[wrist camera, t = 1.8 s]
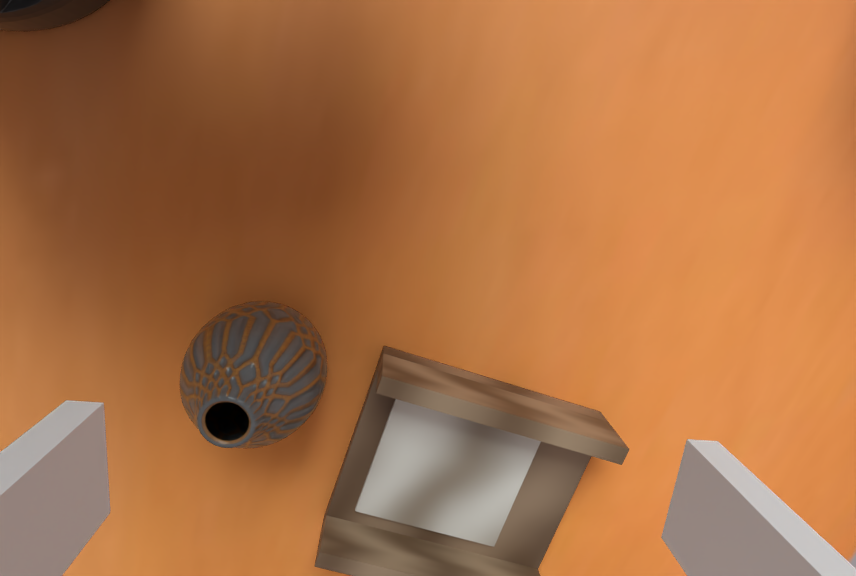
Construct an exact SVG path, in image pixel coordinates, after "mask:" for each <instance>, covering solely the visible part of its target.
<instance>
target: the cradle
mask: <svg viewBox="0 0 856 576" xmlns="http://www.w3.org/2000/svg"><path fill="white" fill-rule="evenodd" d="M628 451H629V448H628V447H627V446H626V444H625V443H624V442H623V440H622V439H621V438H620V437H619V435H618V434H617V433H616V431H615V430H614V429H613V428H612V426H611V425H610V424H609V422H608V421H607V420H606V419H605V417H604V416H603V415H602V413H601V412H599V411H596V410H593V409H590V408H586V407H583V406H580V405H577V404H573V403H570V402H567V401H563V400H560V399H557V398H554V397H550V396H547V395H544V394H540V393H537V392H534V391H531V390H527V389H524V388H521V387H518V386H514V385H511V384H508V383H504V382H501V381H498V380H495V379H491V378H488V377H485V376H482V375H478V374H475V373H472V372H468V371H465V370H462V369H459V368H455V367H452V366H449V365H446V364H442V363H439V362H436V361H432V360H429V359H426V358H423V357H419V356H416V355H413V354H410V353H406V352H403V351H400V350H396V349H393V348H390V347H387V346H384V347H383V350H382V353H381V355H380V358H379V361H378V364H377V367H376V370H375V373H374V375H373V378H372V381H371V384H370V387H369V390H368V393H367V395H366V398H365V401H364V404H363V407H362V410H361V412H360V415H359V418H358V421H357V424H356V427H355V430H354V432H353V435H352V438H351V441H350V444H349V447H348V450H347V452H346V455H345V458H344V461H343V464H342V467H341V469H340V472H339V475H338V478H337V481H336V484H335V487H334V489H333V492H332V495H331V498H330V501H329V504H328V506H327V509H326V512H325V515H324V520H323V525H322V530H321V535H320V541H319V546H318V551H317V556H316V562H315V567H319V568H323V569H327V570H331V571H335V572H339V573H344V574H348V575H352V576H540V574H539V571H538V568H539V566H540V563H541V561H542V559H543V557H544V555H545V553H546V551H547V549H548V547H549V544H550V542H551V540H552V538H553V536H554V534H555V532H556V530H557V528H558V526H559V523H560V521H561V519H562V517H563V515H564V513H565V511H566V509H567V507H568V504H569V502H570V500H571V498H572V496H573V494H574V492H575V490H576V488H577V485H578V483H579V481H580V479H581V477H582V475H583V473H584V471H585V469H586V466H587V464H588V462H589V460H590V458H591V456H593V457H596V458H600V459H603V460H607V461H610V462H614V463H617V464H620V465H622V463H623V461H624V459H625V457H626V455H627V453H628Z"/></svg>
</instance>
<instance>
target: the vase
mask: <svg viewBox="0 0 856 576" xmlns="http://www.w3.org/2000/svg"><path fill="white" fill-rule="evenodd" d="M326 377H327V356H326V351H325V347H324V344H323V342H322V339H321V337H320V335H319V333H318V332H317V330H316V329H315V327H314V326H313V325H312V324H311V323H310V321H309V320H308V319H307V318H305V317H304V316H303V315H302V314H300V313H299V312H297V311H296V310H294V309H292V308H290V307H287V306H285V305H282V304H278V303H273V302H249V303H244V304H240V305H237V306H234V307H231V308H229V309H227V310H225V311H223V312H222V313H220V314H219V315H217V316H216V317H214V318H213V319H212V320H210V321H209V322H208V323H207V324H206V325H205V326H204V327H203V328H202V329H201V330H200V331H199V332H198V333H197V334H196V336H195V337H194V339H193V340H192V342H191V344H190V345H189V347H188V349H187V351H186V354H185V357H184V360H183V363H182V367H181V373H180V394H181V399H182V403H183V406H184V408H185V410H186V412H187V414H188V416H189V418H190V419H191V421H192V422H193V423H194V425H195V426H196V427H197V428H198V429H199V431H200V432H201V434H202V435H203V437H204V438H205V439H206V440H207V441H209V442H210V443H212V444H214V445H216V446H219V447H224V448H233V447H236V448H257V447H263V446H267V445H270V444H273V443H275V442H278V441H280V440H282V439H284V438H285V437H287V436H289V435H290V434H292V433H293V432H294V431H296V430H297V429H298V428H299V427H300V426H301V425H302V424H303V423H304V422H305V421H306V420H307V419H308V418H309V417H310V415H311V414H312V413H313V411H314V410H315V408H316V407H317V405H318V403H319V401H320V399H321V396H322V394H323V391H324V387H325V383H326Z"/></svg>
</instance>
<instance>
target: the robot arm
mask: <svg viewBox="0 0 856 576" xmlns="http://www.w3.org/2000/svg"><path fill="white" fill-rule="evenodd" d="M108 1H109V0H0V30H7V31H35V30H43V29H50V28H54V27H58V26H62V25H65V24H68V23H71V22H74V21H76V20H78V19H81V18H83V17H85V16H87V15H88V14H90V13H92V12H94V11H95V10H97V9H98V8H100V7H101V6H103V5H104V4H105V3H107V2H108ZM109 514H110V498H109V481H108V464H107V447H106V430H105V413H104V403H101V402H85V401H69V400H66V401H65V402H63V403H62V404H61V405H60V406H58V407H57V408H56V409H55V410H53V411H52V412H51V413H49V414H48V415H47V416H46V417H44V418H43V419H42V420H41V421H39V422H38V423H37V424H36V425H34V426H33V427H32V428H30V429H29V430H28V431H27V432H25V433H24V434H23V435H22V436H20V437H19V438H18V439H16V440H15V441H14V442H13V443H11V444H10V445H9V446H8V447H6V448H5V449H4V450H3V451H1V452H0V576H62V575H63V574H64V572H65V571H66V570H67V569H68V567H69V566H70V565H71V563H72V562H73V561H74V559H75V558H76V557H77V555H78V554H79V553H80V552H81V550H82V549H83V548H84V546H85V545H86V544H87V542H88V541H89V540H90V538H91V537H92V536H93V535H94V533H95V532H96V531H97V529H98V528H99V527H100V525H101V524H102V523H103V521H104V520H105V519H106V518H107V516H108V515H109ZM661 538H662V539H663V541H664V542H665V544H666V545H667V546H668V548H669V549H670V551H671V552H672V554H673V555H674V557H675V558H676V560H677V561H678V563H679V564H680V566H681V567H682V569H683V570H684V572H685V573H686V575H687V576H856V568H855V567H853V566H852V565H851V564H850V563H849V562H848V561H847V560H846V559H845V558H844V557H843V556H842V555H841V554H839V553H838V552H837V551H836V550H835V549H834V548H833V547H832V546H831V545H830V544H829V543H828V542H826V541H825V540H824V539H823V538H822V537H821V536H820V535H819V534H818V533H817V532H816V531H815V530H813V529H812V528H811V527H810V526H809V525H808V524H807V523H806V522H805V521H804V520H803V519H801V518H800V517H799V516H798V515H797V514H796V513H795V512H794V511H793V510H792V509H791V508H790V507H788V506H787V505H786V504H785V503H784V502H783V501H782V500H781V499H780V498H779V497H778V496H777V495H775V494H774V493H773V492H772V491H771V490H770V489H769V488H768V487H767V486H766V485H765V484H764V483H762V482H761V481H760V480H759V479H758V478H757V477H756V476H755V475H754V474H753V473H752V472H751V471H749V470H748V469H747V468H746V467H745V466H744V465H743V464H742V463H741V462H740V461H739V460H738V459H736V458H735V457H734V456H733V455H732V454H731V453H730V452H729V451H728V450H727V449H726V448H725V447H723V446H722V445H721V444H720V443H719V442H718V441H707V440H691V439H687V441H686V445H685V449H684V453H683V456H682V460H681V464H680V468H679V472H678V476H677V479H676V483H675V487H674V491H673V495H672V499H671V502H670V506H669V510H668V514H667V518H666V522H665V525H664V529H663V533H662V537H661Z"/></svg>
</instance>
